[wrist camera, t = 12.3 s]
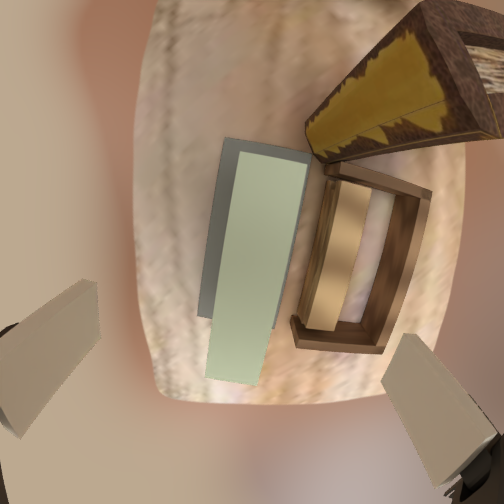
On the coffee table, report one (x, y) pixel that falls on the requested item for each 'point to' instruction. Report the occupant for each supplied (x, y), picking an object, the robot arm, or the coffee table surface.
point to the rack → (389, 271)
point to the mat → (222, 211)
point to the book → (418, 87)
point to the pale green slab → (253, 265)
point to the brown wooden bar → (333, 254)
